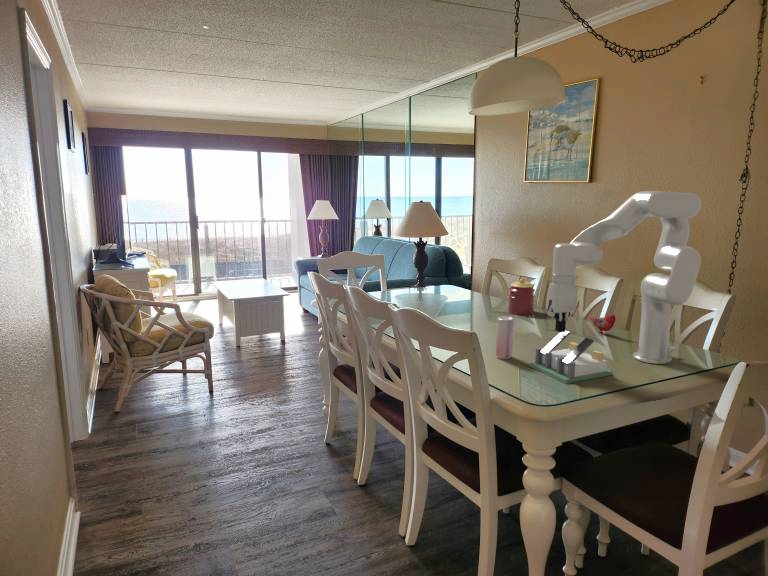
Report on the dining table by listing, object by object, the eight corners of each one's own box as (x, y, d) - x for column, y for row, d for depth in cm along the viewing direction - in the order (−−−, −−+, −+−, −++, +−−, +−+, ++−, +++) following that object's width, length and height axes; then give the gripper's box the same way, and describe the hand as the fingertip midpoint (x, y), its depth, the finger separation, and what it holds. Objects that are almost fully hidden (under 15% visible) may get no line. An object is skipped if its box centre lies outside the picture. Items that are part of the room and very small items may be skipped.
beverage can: (494, 354, 195) (495, 316, 193) (510, 354, 195) (511, 316, 192) (497, 359, 190) (498, 320, 187) (513, 359, 189) (515, 320, 187)
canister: (517, 308, 272) (518, 275, 269) (538, 312, 263) (540, 278, 260) (502, 312, 264) (503, 278, 260) (524, 316, 254) (526, 281, 251)
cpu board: (573, 359, 189) (575, 339, 188) (612, 374, 173) (614, 353, 172) (529, 366, 182) (530, 346, 180) (565, 383, 165) (566, 361, 164)
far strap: (563, 331, 183) (562, 329, 182) (570, 333, 180) (569, 331, 180) (540, 353, 180) (539, 351, 180) (546, 356, 177) (545, 354, 177)
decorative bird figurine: (612, 339, 214) (614, 315, 212) (583, 328, 231) (584, 307, 229) (617, 338, 215) (619, 315, 213) (588, 328, 232) (589, 306, 230)
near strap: (586, 339, 173) (585, 337, 172) (594, 341, 170) (593, 339, 170) (562, 362, 170) (561, 361, 170) (569, 365, 167) (568, 363, 167)
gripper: (572, 276, 183) (569, 326, 186) (538, 279, 177) (535, 330, 181) (588, 280, 176) (584, 331, 179) (553, 282, 170) (550, 336, 174)
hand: (560, 331), depth 180 cm, fingers closed
